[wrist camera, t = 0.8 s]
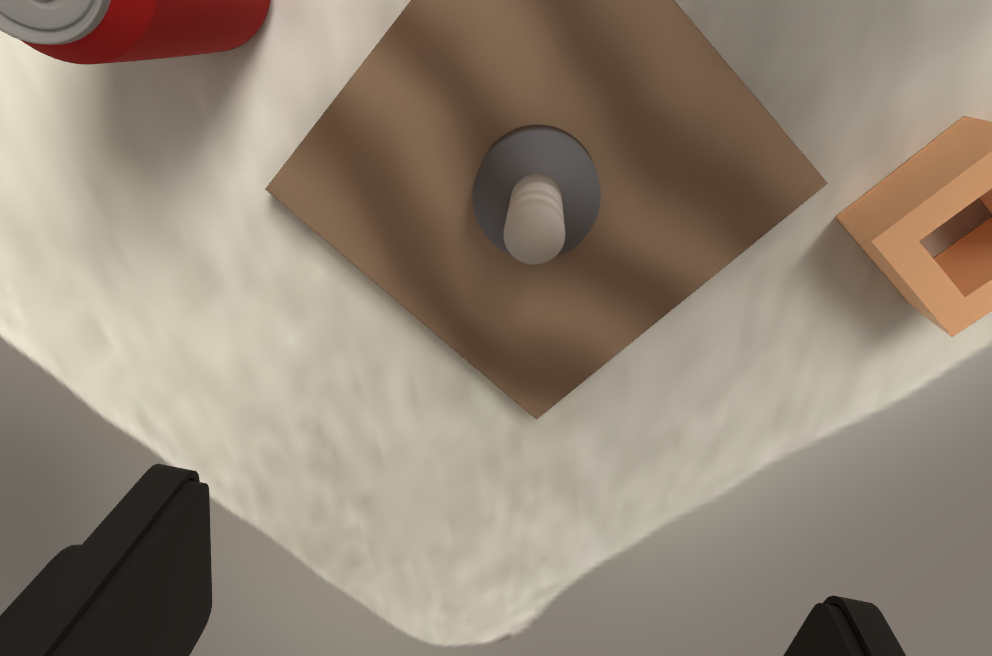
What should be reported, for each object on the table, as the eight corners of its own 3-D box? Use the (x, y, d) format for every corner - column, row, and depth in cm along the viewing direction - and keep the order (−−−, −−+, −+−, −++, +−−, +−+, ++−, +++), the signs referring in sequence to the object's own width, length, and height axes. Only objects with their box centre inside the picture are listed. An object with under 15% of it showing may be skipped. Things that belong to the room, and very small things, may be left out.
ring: (964, 115, 30) (1021, 128, 26) (1036, 215, 32) (1099, 240, 28) (835, 216, 32) (871, 241, 29) (909, 303, 34) (951, 336, 31)
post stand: (537, -154, 26) (534, -236, 18) (815, 176, 32) (914, 233, 23) (276, 182, 34) (185, 237, 25) (536, 405, 39) (534, 513, 30)
